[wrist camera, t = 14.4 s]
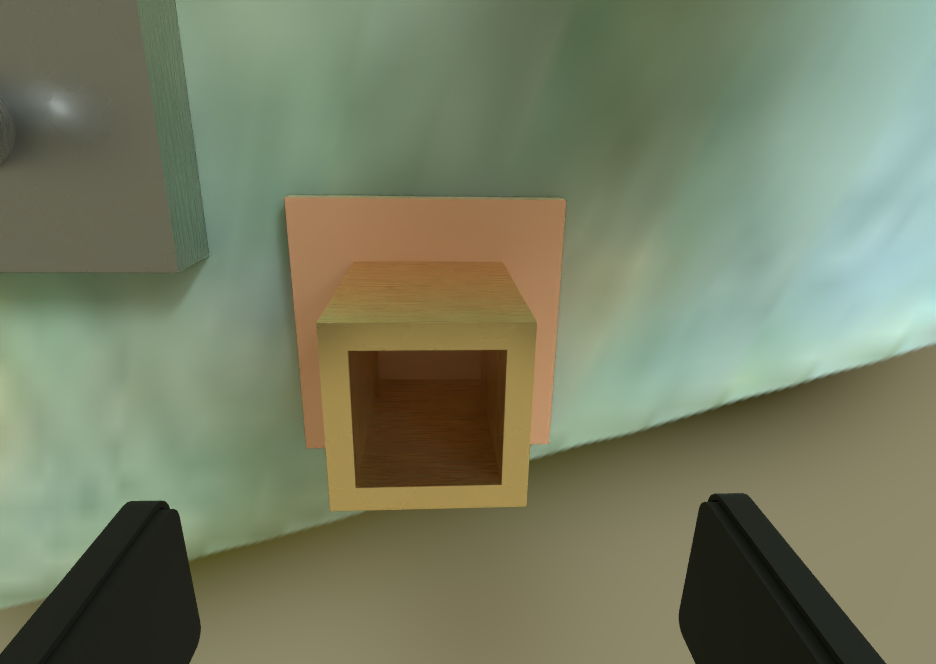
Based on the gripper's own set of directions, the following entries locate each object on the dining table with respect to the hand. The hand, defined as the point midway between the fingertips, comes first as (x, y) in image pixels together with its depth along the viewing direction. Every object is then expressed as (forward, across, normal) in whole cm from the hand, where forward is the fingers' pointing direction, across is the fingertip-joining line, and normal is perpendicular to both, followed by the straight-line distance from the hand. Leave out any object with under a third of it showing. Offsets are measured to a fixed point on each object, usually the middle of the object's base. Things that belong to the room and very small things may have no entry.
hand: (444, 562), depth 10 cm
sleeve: (+14, +1, +1) cm, 14 cm away
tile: (+15, +1, +1) cm, 15 cm away
